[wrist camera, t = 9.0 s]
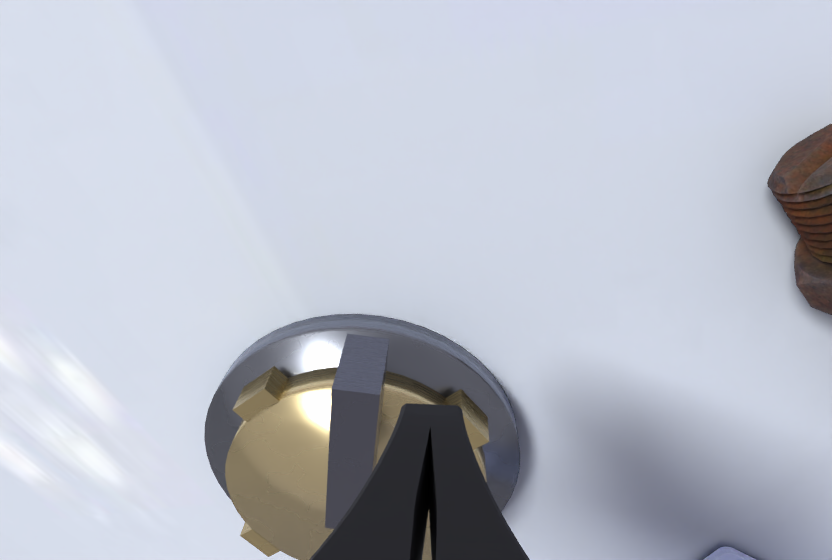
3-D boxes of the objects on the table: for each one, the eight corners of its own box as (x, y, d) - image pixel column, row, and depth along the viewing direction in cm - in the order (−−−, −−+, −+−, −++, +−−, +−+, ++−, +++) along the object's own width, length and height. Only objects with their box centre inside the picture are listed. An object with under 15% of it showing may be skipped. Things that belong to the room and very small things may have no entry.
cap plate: (581, 407, 25) (586, 427, 24) (419, 574, 31) (417, 595, 30) (288, 255, 22) (280, 270, 21) (173, 471, 29) (163, 491, 28)
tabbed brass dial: (349, 587, 30) (334, 680, 26) (162, 442, 26) (111, 528, 22) (557, 490, 26) (575, 584, 22) (374, 297, 21) (357, 372, 17)
